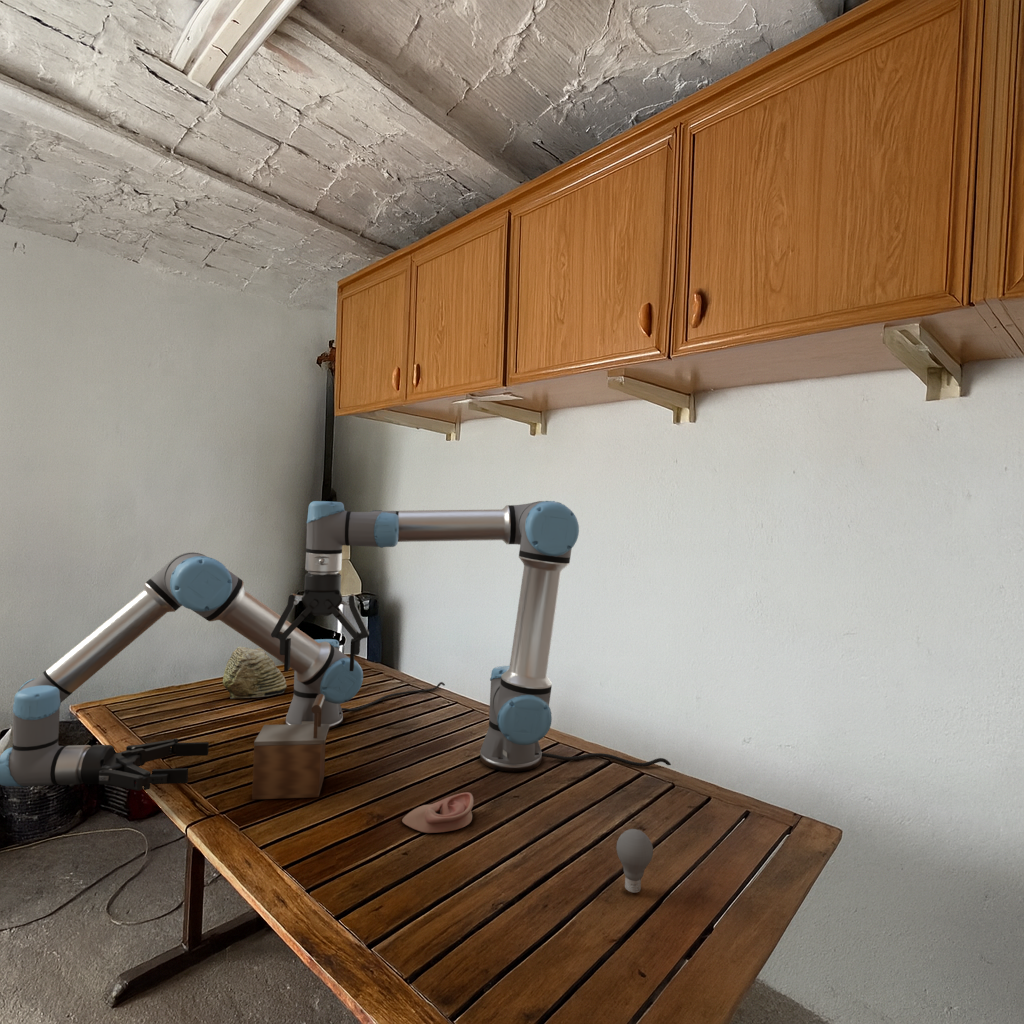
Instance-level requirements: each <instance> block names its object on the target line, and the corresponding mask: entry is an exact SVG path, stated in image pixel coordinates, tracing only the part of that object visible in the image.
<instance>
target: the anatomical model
mask: <svg viewBox="0 0 1024 1024" xmlns="http://www.w3.org/2000/svg"><path fill="white" fill-rule="evenodd" d="M473 807H474V796H473V794H472V793H471V792H467V791H466V792H461V793H456V794H453V795H450V796H448V797H445V798H443V799H441V800H439V801H436V802H434V803H431V804H430V803H429V804H423V805H421V806H418V807H416V808H414V809H412V810H411V811H409V812H408V813H407V814H405V816H403V817H402V820H401V821H402V823H403V824H404V825H405V826H406V827H409V828H410V829H412V830H415V831H418V832H421V833H424V834H435V833H437V834H438V833H446V832H452V831H456V830H459V829H463V828H464V827H466V826H468V825H470V824H471V822H472V820H473V813H472V809H474V808H473Z"/></svg>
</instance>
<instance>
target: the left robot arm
mask: <svg viewBox="0 0 1024 1024" xmlns="http://www.w3.org/2000/svg"><path fill="white" fill-rule="evenodd" d="M181 607H183V608H186V609H188V610H191V611H192V612H194V613H196V614H197V615H198V616H200V617H202V618H203V619H204V620H206V621H208V622H215V621H220V622H221V623H223V624H225V625H226V626H228V627H229V628H231V629H232V630H233V631H235V632H237V634H240V635H241V636H243V637H244V638H246V639H247V640H248V641H250V642H252V643H253V644H255V645H256V646H257V647H258V648H261V649H263V650H264V652H265V653H267V654H269V655H271V656H272V657H274V658H275V659H277V660H278V661H280V662H281V663H282V664H284V658H285V655H280V640H279V639H278V638H275V637H274V638H273V637H272V636H271V633H272V631H273V630H274V628H275V626H276V624H277V623H278V621H279V619H280V617H281V615H280V614H279V613H277V612H276V611H274V610H273V609H271V608H270V607H269V606H267V605H266V604H265V603H263V602H262V601H260V600H259V599H258V598H256V597H255V596H253V595H252V594H250V593H249V592H248V591H246V589H245V583H244V580H242V579H241V578H240V577H238V576H237V575H236V574H234V573H233V572H231V571H230V570H229V569H228V568H227V567H226V566H225V564H223V563H222V562H221V561H219V560H217V559H215V558H213V557H209V556H207V555H205V554H203V553H199V552H185V553H182V554H179V555H176V556H175V557H173V558H172V559H170V560H169V561H168V562H167V563H166V564H165V565H164V566H163V567H162V568H161V569H159V570H158V571H157V572H156V573H155V574H154V575H153V576H151V577H150V578H149V579H148V580H147V581H146V582H144V585H143V589H142V590H141V591H140V592H139V593H138V594H137V595H135V596H134V597H133V598H131V599H130V600H129V601H128V602H127V603H126V604H124V605H123V606H122V607H120V608H119V609H118V610H117V611H116V612H115V613H113V614H112V615H111V616H110V617H108V618H107V619H106V620H105V621H104V622H102V623H101V624H100V625H99V626H98V627H96V628H95V629H94V630H92V631H91V632H90V633H89V634H88V635H86V636H85V637H83V639H82V640H80V641H79V642H78V643H77V644H75V646H73V647H72V648H71V649H69V650H68V651H67V652H66V653H65V654H63V655H62V656H61V657H60V658H58V659H57V660H56V661H55V662H53V663H52V664H51V665H50V666H49V667H47V668H46V669H45V670H44V671H43V672H42V673H40V674H39V675H38V676H36V677H35V678H31V679H28V680H27V681H26V682H24V683H23V684H22V685H21V686H20V687H19V688H18V689H17V692H16V693H15V694H14V698H13V704H12V713H13V714H12V747H8V748H6V749H5V750H3V752H2V753H1V754H0V785H1V786H2V787H20V788H28V787H44V786H46V787H48V786H69V787H71V788H72V787H74V786H75V785H76V786H77V785H83V784H85V785H106V786H107V785H109V786H114V787H119V788H123V789H128V790H132V791H137V792H138V791H142V790H143V791H149V790H151V785H175V784H176V785H177V784H188V782H189V767H185V768H183V767H182V768H153V769H152V770H151V771H150V770H147V769H144V768H142V767H143V766H144V765H146V763H149V762H153V761H157V760H159V759H164V758H167V757H172V756H174V755H175V757H204V756H205V757H206V756H208V755H209V748H210V747H209V744H210V742H208V741H203V742H202V741H200V742H179V738H177V737H175V738H171V739H166V740H159V741H153V742H148V743H142V744H130V745H127V746H126V747H125V750H124V751H120V752H119V751H118V752H117V751H116V750H115V747H114V746H113V745H112V744H93V745H89V744H80V745H79V744H78V745H77V744H76V745H75V744H74V745H59V739H60V736H59V732H60V713H61V712H60V710H61V709H60V708H61V704H62V703H63V702H64V701H66V699H68V697H70V696H71V695H72V694H73V693H74V692H75V691H76V690H77V689H79V688H80V687H81V686H82V685H83V684H85V683H86V682H87V681H88V680H89V679H90V678H92V677H93V676H94V675H95V674H96V673H98V672H99V671H100V670H101V669H103V668H104V667H105V666H106V665H107V664H108V663H109V662H111V661H112V660H113V659H114V658H115V657H116V656H118V655H119V654H120V653H121V652H122V651H124V650H125V649H127V647H129V646H130V645H131V644H132V643H133V642H135V640H137V639H138V638H139V637H140V636H142V635H143V633H145V632H146V631H148V629H150V628H151V627H152V626H153V625H154V624H156V623H157V622H158V621H159V620H160V619H161V618H162V617H164V616H165V615H166V614H167V613H175V612H176V611H178V610H179V609H180V608H181ZM291 624H292V623H291V622H290V621H288V619H287V620H286V621H285V623H284V625H283V627H282V629H281V630H280V632H283V633H284V631H285V630H286V629H287V628H288V627H289V626H290V625H291ZM287 638H291V651H290V669H291V670H293V671H294V672H293V673H294V674H293V695H292V696H293V697H292V699H291V702H290V704H289V708H288V711H287V713H286V715H285V725H290V724H314V713H313V712H312V706H313V704H314V702H315V699H316V697H317V695H319V694H323V695H324V696H325V700H324V703H323V705H322V715H321V724H330V728H329V730H332V729H335V728H337V727H339V726H340V725H342V723H343V722H344V714H343V712H356V711H360V710H362V709H366V708H367V707H370V706H372V705H375V704H378V702H381V701H383V700H385V699H387V698H391V697H395V696H400V695H408V694H409V695H410V694H415V693H416V694H417V693H426V692H432V691H435V690H437V689H439V687H440V686H441V685H442V686H446V684H445V682H443V681H440V682H439V683H438V684H437V685H436V686H435V687H432V688H427V689H426V688H424V689H414V690H406V691H400V692H395V693H390V694H386V695H383V696H382V697H379V698H378V699H376V700H374V701H371V702H368V703H366V704H364V705H361V706H358V707H353V708H347V707H342V706H341V704H344V703H347V702H349V701H350V700H352V699H353V698H354V697H355V696H356V695H357V694H358V693H359V691H360V689H361V688H362V685H363V681H364V672H363V668H362V666H361V664H359V662H358V661H357V660H356V659H354V670H353V671H350V656H348V655H346V654H345V653H344V652H342V651H341V650H340V647H341V646H340V642H339V640H337V639H334V638H333V639H332V638H323V639H322V638H320V639H313V638H312V637H311V636H309V635H308V634H307V633H306V632H303V631H302V630H300V628H298V626H297V627H296V628H295V629H294V630H293V631H292V632H291V634H290V635H289V636H288V637H287Z"/></svg>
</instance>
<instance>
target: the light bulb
mask: <svg viewBox="0 0 1024 1024" xmlns="http://www.w3.org/2000/svg"><path fill="white" fill-rule="evenodd" d="M615 849H616V854H617V857H618V859H619V861H620V863H621V865H622V867H623V873H624V874H623V875H624V876H625V878H624V888H625V890H627V891H628V892H630V893H634V894H635V893H639V892H640V891H641V889H642V887H641V886H642V879H643V877H644V875H645V871H646V868H647V867H648V866H649V864H650V863H651V861H652V859H653V855H654V847H653V843H652V841H651V838H649V836H648V835H647V834H646V833H645V832H643V831H642V830H641V829H636V828H629V829H627V830H625V831H623V832H622V833H621V834H620V835H619V837H618V839H617V841H616V847H615Z"/></svg>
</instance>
